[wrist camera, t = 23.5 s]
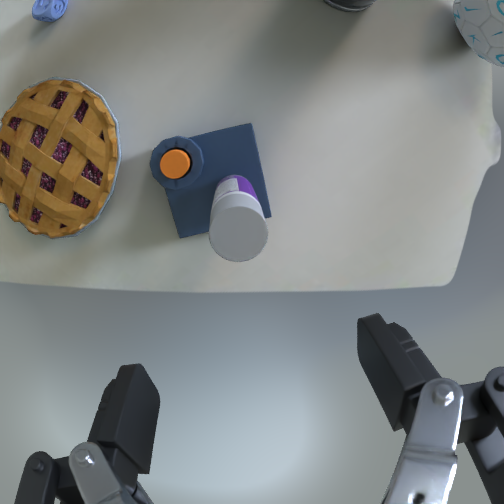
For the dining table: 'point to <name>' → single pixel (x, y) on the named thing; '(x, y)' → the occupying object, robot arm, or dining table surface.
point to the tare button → (174, 164)
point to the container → (237, 220)
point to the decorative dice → (48, 9)
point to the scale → (209, 174)
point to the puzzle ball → (482, 27)
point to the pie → (58, 157)
